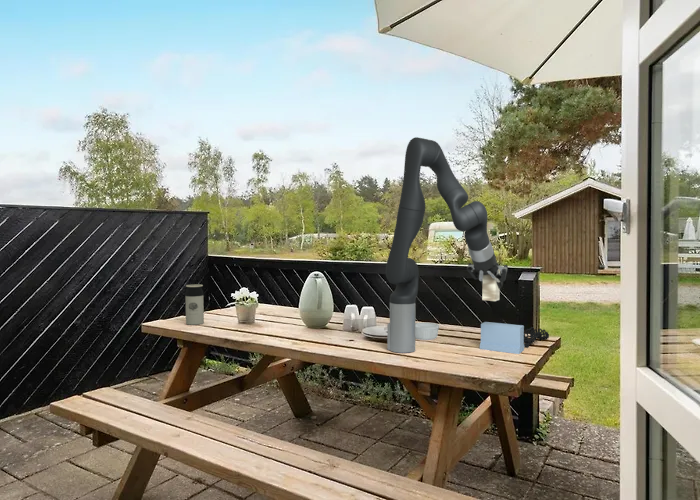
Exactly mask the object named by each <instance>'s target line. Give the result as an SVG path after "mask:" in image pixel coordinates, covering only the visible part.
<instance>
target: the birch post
mask: <svg viewBox="0 0 700 500" xmlns="http://www.w3.org/2000/svg"><path fill="white" fill-rule="evenodd" d="M498 270H499V269H498ZM499 273H500V274H501V272H500V270H499ZM500 290H501V289H499V288H498V285H497V281H496V280H495V279H493V278H492V277H491V275H484V276H483V286H482V293H481V294H482V296H481V297H482V298H481V299H482V301H490V302H497V301H500Z"/></svg>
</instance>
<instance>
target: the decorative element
mask: <svg viewBox="0 0 700 500" xmlns="http://www.w3.org/2000/svg"><path fill="white" fill-rule="evenodd" d="M549 338H550V333H549V332H548V331H546V329H542V328H538V330H537V329H534V326H531V327H530V328H527V329H526V330H524V349H526V348H527V349H528V348H529V347H530V345H532V344H533V343H534V342H535V341H536V340H537V339H538V340H540V341H542V340H543V341H545V340H548V339H549Z"/></svg>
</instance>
